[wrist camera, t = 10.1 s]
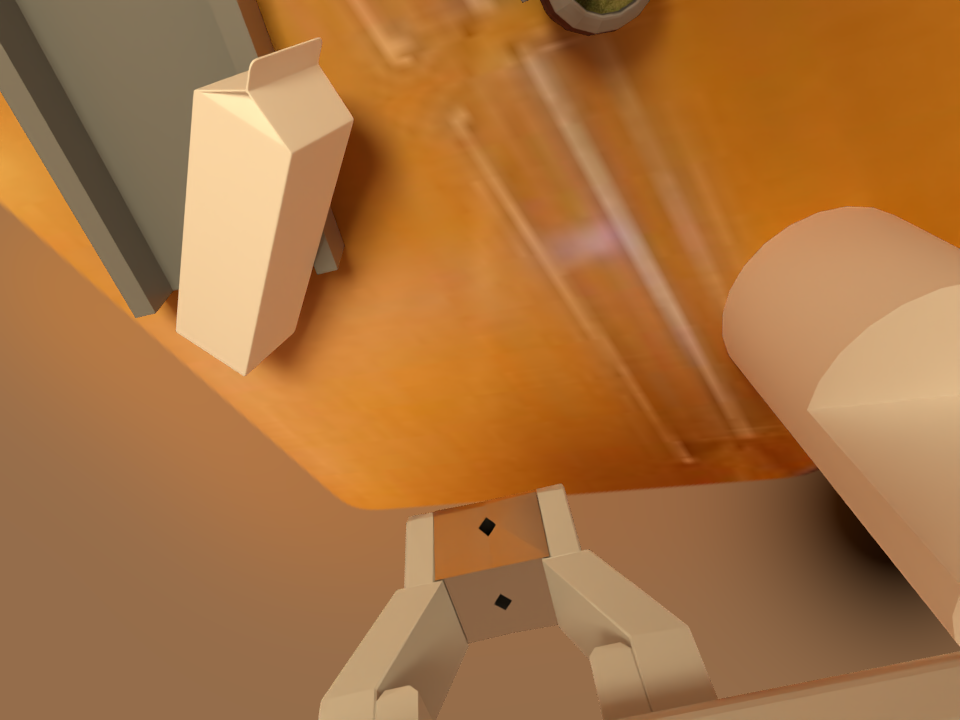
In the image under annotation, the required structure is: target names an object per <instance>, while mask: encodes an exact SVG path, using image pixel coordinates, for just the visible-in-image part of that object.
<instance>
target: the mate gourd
mask: <svg viewBox="0 0 960 720" xmlns="http://www.w3.org/2000/svg"><path fill="white" fill-rule="evenodd" d="M521 1H522V3H523V2H526V1H528V0H521ZM540 1H541V3H542V5H543V8H544V10H545V11H546V13H547V15H548V16H549V17H550V18H551V19H552V20H553V21H554V22H556V23H557V24H559V25H560V26H562V27H563V28H564V29H565V30H568V31H572V32H576V33H579V34H583V35H587V36H590V35H595V34H601V33H606V32H612V31H615V30H617V29H619V28H621V27H622V26H624V25H625V24H626V23H628V22H629V21H631V20H632V19H634V18H635V17H637V16H638V15H639V14H640V13H641V12H642V10H643V9H644V7H645V6H646V5H647V3H648V2H649V1H650V0H540Z"/></svg>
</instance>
